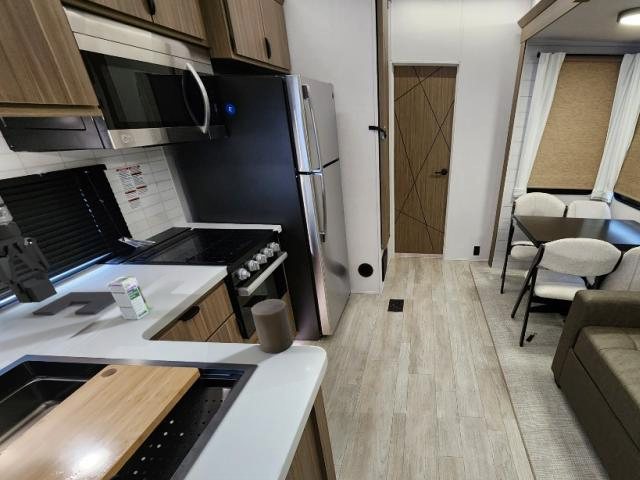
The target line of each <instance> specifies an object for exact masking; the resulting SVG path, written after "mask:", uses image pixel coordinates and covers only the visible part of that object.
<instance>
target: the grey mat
mask: <svg viewBox="0 0 640 480" xmlns="http://www.w3.org/2000/svg"><path fill="white" fill-rule="evenodd" d="M114 303H116V301H115V299H114V297H113V295H112V293H111V291H71V292H68V293H66V294H64V295H63V296H61V297H59V298H57V299H55V300H53V301H51V302H49V303H48V304H46V305H44V306H41V307H40V308H38V309H36V310H34V311H32V314H33V316H55V315H57V314H58V313H60V312H62V311H64V310H65V309H67V308H69V307H71V306H74V305H83V306H81V307H80V308H78V309H77V310H75V311H74V315H75V316H94V315H97V314H98V313H100V312H102V311H103V310H105V309H107V308H109V307H110V306H111V305H113V304H114Z"/></svg>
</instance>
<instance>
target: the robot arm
mask: <svg viewBox="0 0 640 480" xmlns="http://www.w3.org/2000/svg"><path fill="white" fill-rule="evenodd" d="M13 220H14V218H13V216H12V214H11V213H10V210H9V209H8V207H7V205H6V203H5V202H4V199H3V198H2V196H1V195H0V286H8V287H9V289H10V290H11V292H12V293H13V294H14V296H15V295H16V294H17V295H18V297H19V298H20V300H21V301H22V303H21V304H32V302H33V300H32V298H31V297H30V295H29V293H28V292H27V290H26V288H25V286H24V285H23V282H22V281H21V282H19V280H18V275H17V272H16V267H15V262H14V261H15V259H16V258H15V257H16V256H17V257H18V258H20V260H22V262H23V263H24V264H26V266H28V267H29V268H30V269H31V270H32V271H33V272H34V273H33V274H32V275H33V277H34V279H49V280H50V278H49V276H48V274H47V273H48V272H49V269H50V268H51V265H50V264H49V262H48V260H47V259H46V256H44V253H43V252H42V251H41V249H40V247H39V246H38V242H37V239H36V238H35V237H23V236H22V235H21V234H22V232H21V229H20V228H19V226H18V224H17V223H16V222H15V221H13Z"/></svg>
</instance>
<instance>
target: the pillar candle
mask: <svg viewBox="0 0 640 480" xmlns="http://www.w3.org/2000/svg"><path fill="white" fill-rule="evenodd" d="M250 310H251V314H252V319H253V323H254V326H255V330H256V332H257V338H258V341H259V346H260V348H261V350H262V352H264V351H265V352H264V353H267V354H279V353H281V352H285V351H287V350H288V349H290V348H291V347H292V345H293V343H294V338H293V333H292V330H291V328H292V327H291V323H290V320H289V315H288V310H287V305H286V302H285V301H284V300H282V299H278V298H271V299H270V298H269V299H265V300H262V301H259V302H257V303H255V304H254V305H253V306H252V307H251V308H250ZM290 346H291V347H290ZM278 352H279V353H278Z"/></svg>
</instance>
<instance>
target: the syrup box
mask: <svg viewBox="0 0 640 480" xmlns="http://www.w3.org/2000/svg"><path fill="white" fill-rule="evenodd" d="M106 284H107V287H108V289H109V292H111V293H112V295H113V297H114V299H115V301H116V302H115V303H116V305H117V307H118V309H119V311H120V313H121V316H122V317H123V319H124V320H140V319H141V318H143V317H144V316H146V315H148V314H149V313H151V310H150V307H149V305H148V303H147V301H146V298H145V296H144V293H143V292H142V290H141V287H140V285H139V282H138V280H137V278H136V277H135V276H130V275H129V276H128V275H127V276H126V275H124V276H123V275H122V276H119V277H118V278H115V279H114V280H112V281H109V282H107V283H106Z"/></svg>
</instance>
